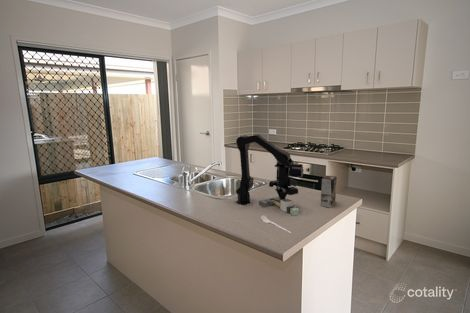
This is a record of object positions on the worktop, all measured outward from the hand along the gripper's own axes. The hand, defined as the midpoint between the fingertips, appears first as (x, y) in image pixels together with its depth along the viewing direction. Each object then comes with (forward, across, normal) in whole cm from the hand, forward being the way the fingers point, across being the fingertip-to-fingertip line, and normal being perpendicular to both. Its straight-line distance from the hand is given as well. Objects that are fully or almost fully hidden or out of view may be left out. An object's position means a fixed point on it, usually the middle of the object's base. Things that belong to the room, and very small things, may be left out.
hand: (282, 201), depth 158 cm
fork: (+4, -16, +17) cm, 24 cm away
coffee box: (+4, -9, -26) cm, 28 cm away
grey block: (+4, -4, 0) cm, 5 cm away
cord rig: (+4, 0, 0) cm, 4 cm away
